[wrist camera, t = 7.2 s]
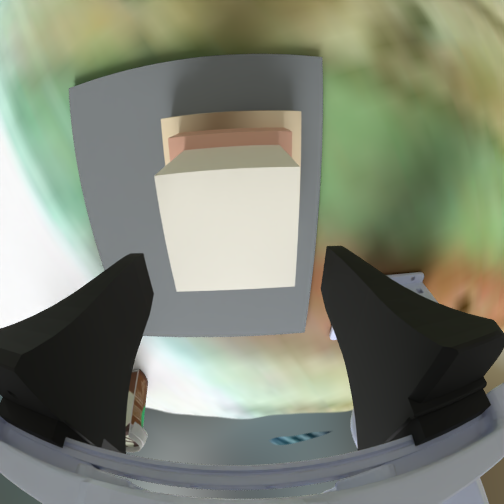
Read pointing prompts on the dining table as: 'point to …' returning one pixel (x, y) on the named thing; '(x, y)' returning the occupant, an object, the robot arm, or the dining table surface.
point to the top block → (231, 217)
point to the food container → (136, 412)
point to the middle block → (229, 139)
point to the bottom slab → (235, 125)
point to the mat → (152, 161)
